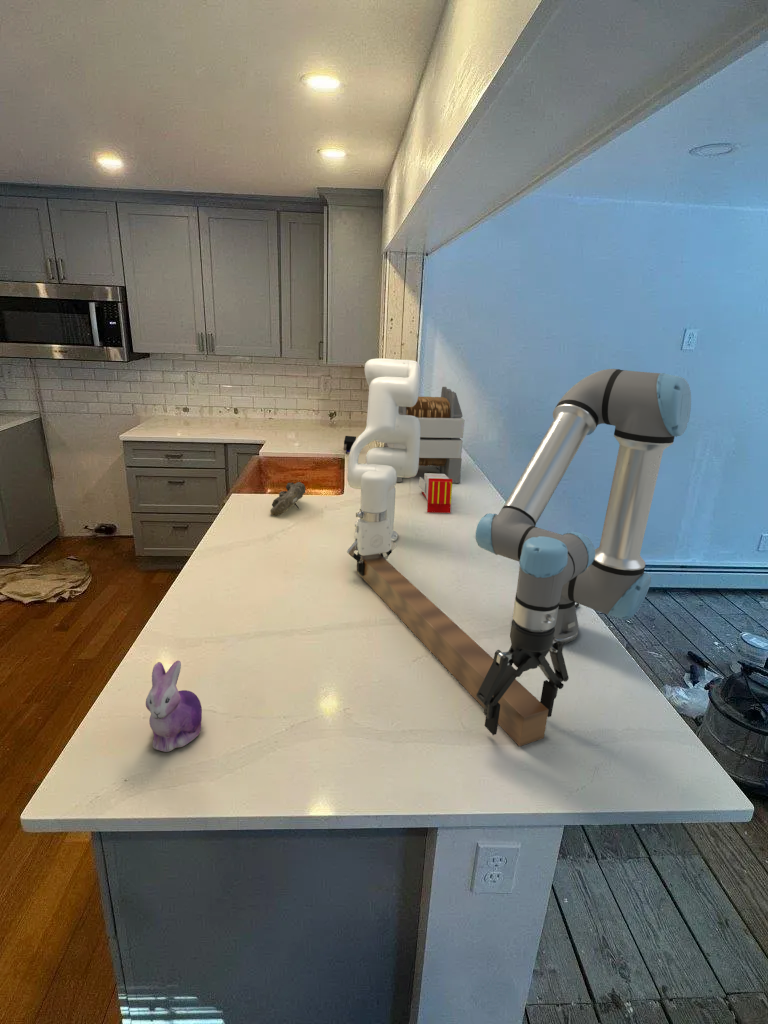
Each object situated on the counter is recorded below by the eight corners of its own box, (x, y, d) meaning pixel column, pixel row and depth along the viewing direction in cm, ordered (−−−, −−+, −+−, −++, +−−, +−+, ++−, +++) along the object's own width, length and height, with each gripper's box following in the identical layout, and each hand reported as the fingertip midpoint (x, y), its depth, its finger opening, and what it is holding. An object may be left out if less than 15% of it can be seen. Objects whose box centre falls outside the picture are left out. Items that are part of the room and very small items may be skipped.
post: (356, 571, 170) (357, 552, 168) (373, 569, 172) (374, 549, 170) (519, 746, 104) (523, 717, 102) (544, 738, 107) (548, 709, 104)
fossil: (276, 488, 229) (303, 468, 224) (291, 505, 232) (319, 486, 227) (260, 511, 209) (290, 490, 204) (277, 530, 212) (307, 510, 207)
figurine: (153, 762, 97) (144, 689, 92) (146, 724, 105) (138, 655, 100) (210, 745, 101) (204, 674, 96) (199, 710, 109) (193, 643, 104)
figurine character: (355, 457, 303) (356, 447, 317) (355, 444, 300) (356, 434, 313) (342, 457, 303) (344, 447, 316) (343, 443, 300) (344, 434, 313)
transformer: (382, 463, 289) (386, 382, 275) (445, 464, 293) (451, 384, 279) (390, 482, 257) (394, 392, 243) (460, 483, 261) (468, 394, 247)
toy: (446, 469, 247) (456, 480, 217) (444, 499, 249) (454, 514, 220) (418, 468, 246) (425, 479, 217) (416, 499, 249) (423, 513, 219)
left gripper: (350, 522, 154) (348, 582, 160) (406, 515, 161) (403, 573, 167) (340, 513, 160) (339, 571, 167) (394, 507, 168) (391, 562, 174)
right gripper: (489, 647, 93) (476, 752, 100) (600, 620, 103) (581, 717, 110) (464, 625, 99) (453, 725, 106) (571, 601, 109) (554, 694, 116)
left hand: (371, 571), depth 167 cm, fingers closed on post, 5 cm apart
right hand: (518, 721), depth 108 cm, fingers open, 12 cm apart
